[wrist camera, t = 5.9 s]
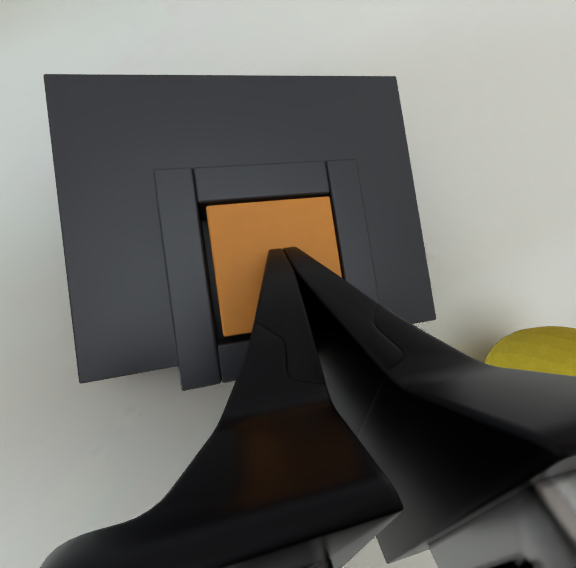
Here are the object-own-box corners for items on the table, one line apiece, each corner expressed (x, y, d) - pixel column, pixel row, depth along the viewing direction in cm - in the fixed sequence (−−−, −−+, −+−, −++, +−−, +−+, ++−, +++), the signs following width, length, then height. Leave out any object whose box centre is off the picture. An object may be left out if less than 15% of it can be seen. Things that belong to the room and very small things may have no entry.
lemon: (507, 307, 19) (704, 308, 11) (542, 390, 19) (762, 448, 11) (435, 347, 18) (600, 378, 10) (473, 435, 18) (665, 534, 10)
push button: (390, 324, 17) (475, 334, 12) (118, 373, 14) (47, 418, 9) (358, 126, 18) (424, 38, 12) (89, 134, 15) (3, 23, 9)
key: (325, 314, 12) (349, 316, 10) (223, 331, 12) (223, 337, 9) (310, 215, 13) (330, 195, 10) (209, 225, 12) (205, 205, 9)
